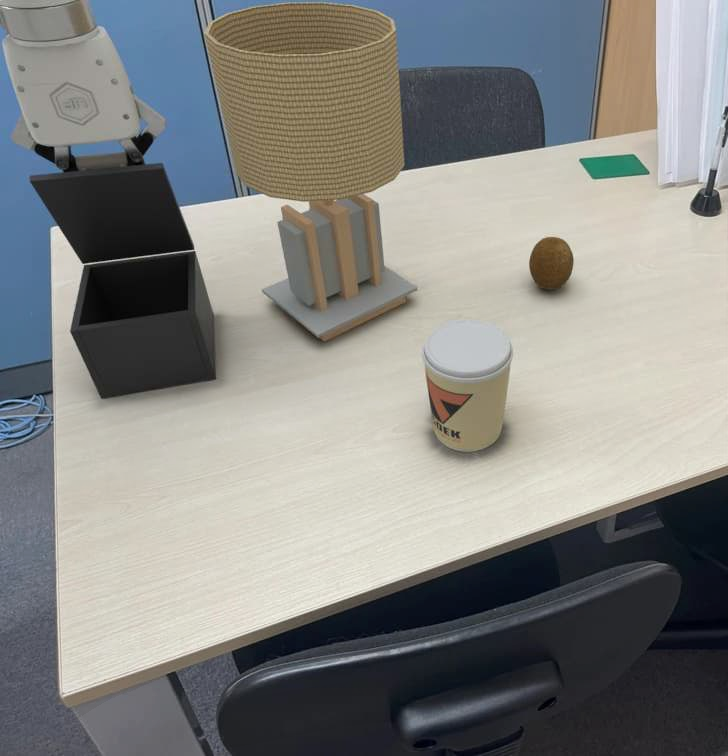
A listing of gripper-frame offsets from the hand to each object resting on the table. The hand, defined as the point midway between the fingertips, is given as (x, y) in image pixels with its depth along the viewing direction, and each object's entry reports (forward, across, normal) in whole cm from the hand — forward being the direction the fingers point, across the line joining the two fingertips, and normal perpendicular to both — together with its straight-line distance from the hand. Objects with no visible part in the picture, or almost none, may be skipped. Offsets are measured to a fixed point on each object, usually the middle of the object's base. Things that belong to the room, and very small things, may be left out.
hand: (114, 192), depth 79 cm
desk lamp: (+20, +23, -1) cm, 30 cm away
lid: (+2, 0, -2) cm, 3 cm away
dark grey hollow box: (+19, 0, -5) cm, 20 cm away
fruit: (+20, +52, -5) cm, 56 cm away
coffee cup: (+19, +33, -29) cm, 47 cm away
